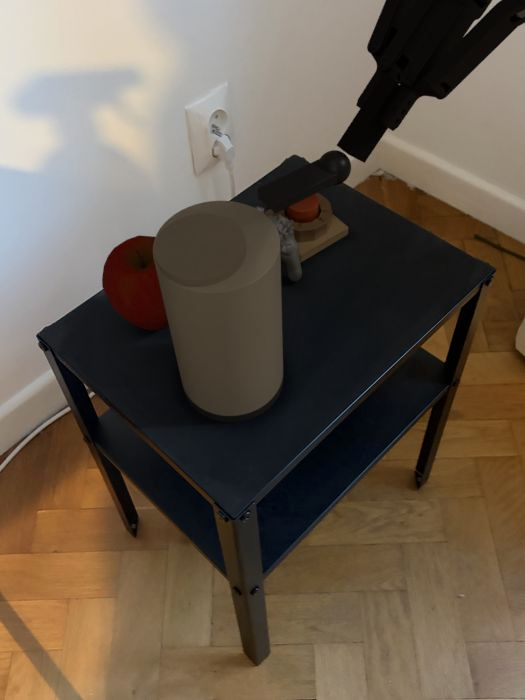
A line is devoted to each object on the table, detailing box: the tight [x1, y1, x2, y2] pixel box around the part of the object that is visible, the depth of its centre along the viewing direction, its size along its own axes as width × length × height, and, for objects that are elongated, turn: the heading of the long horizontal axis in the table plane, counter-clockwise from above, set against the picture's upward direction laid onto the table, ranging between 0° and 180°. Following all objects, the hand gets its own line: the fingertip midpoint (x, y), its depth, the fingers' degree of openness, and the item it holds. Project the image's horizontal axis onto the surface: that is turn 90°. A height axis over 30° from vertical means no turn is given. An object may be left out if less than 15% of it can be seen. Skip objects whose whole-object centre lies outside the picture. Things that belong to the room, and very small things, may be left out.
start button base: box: [264, 192, 349, 264], centre depth 83 cm, size 8×7×3 cm
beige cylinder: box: [153, 200, 284, 423], centre depth 64 cm, size 10×10×20 cm
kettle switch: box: [257, 149, 352, 213], centre depth 59 cm, size 3×8×3 cm, turn 127°
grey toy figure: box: [253, 205, 303, 282], centre depth 77 cm, size 9×12×8 cm
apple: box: [101, 235, 169, 331], centre depth 73 cm, size 9×8×11 cm
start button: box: [287, 194, 319, 223], centre depth 81 cm, size 4×4×2 cm
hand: (350, 153), depth 60 cm, fingers closed
